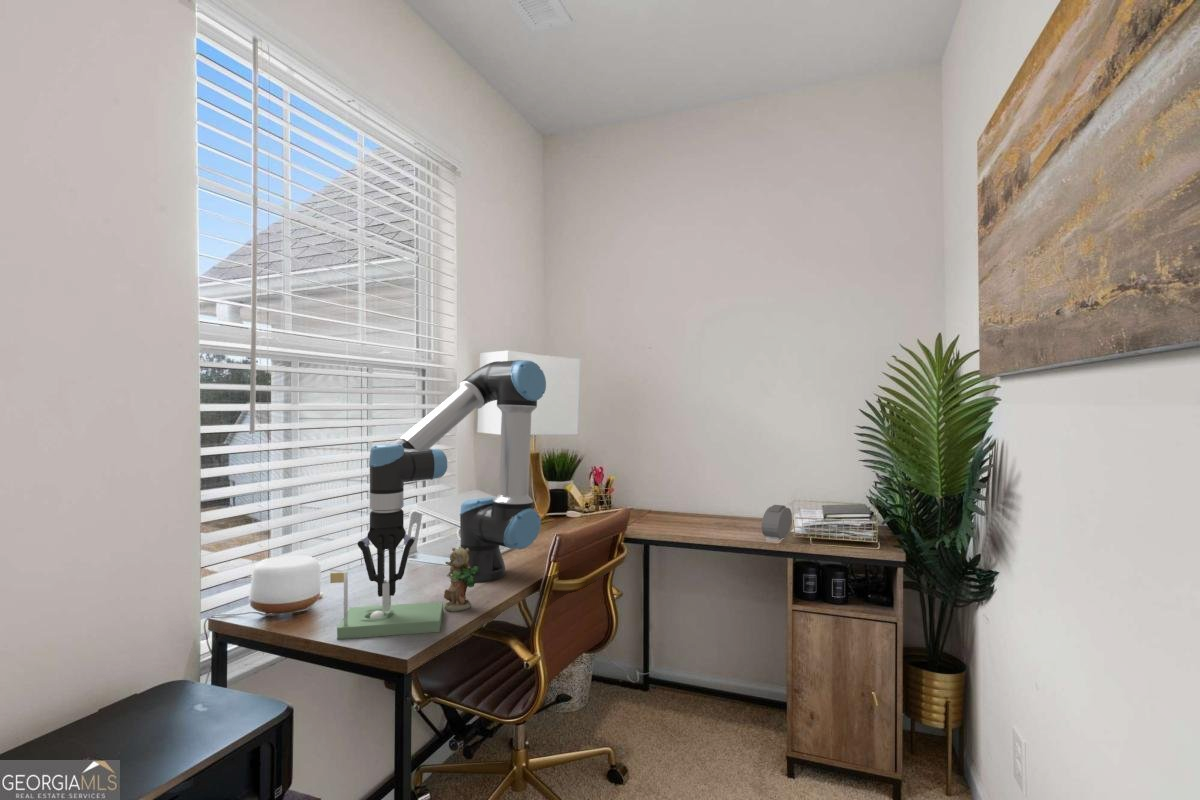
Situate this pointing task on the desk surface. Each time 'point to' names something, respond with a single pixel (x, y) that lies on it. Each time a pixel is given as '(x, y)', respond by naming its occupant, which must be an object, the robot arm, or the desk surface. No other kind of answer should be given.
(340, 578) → the flag
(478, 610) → the desk surface
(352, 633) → the green
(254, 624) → the desk surface
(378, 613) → the ball
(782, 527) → the alarm clock
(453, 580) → the figurine
